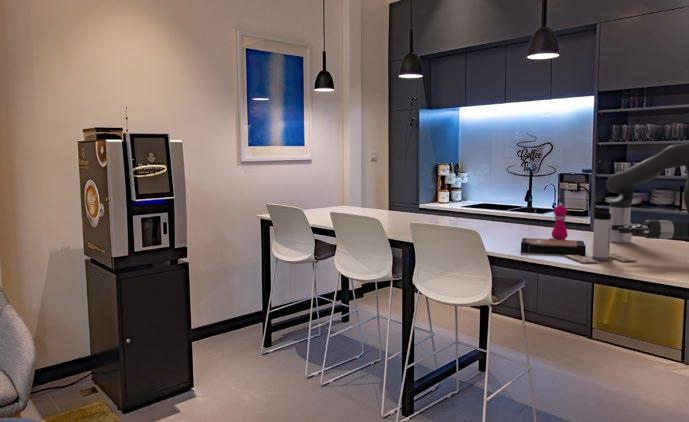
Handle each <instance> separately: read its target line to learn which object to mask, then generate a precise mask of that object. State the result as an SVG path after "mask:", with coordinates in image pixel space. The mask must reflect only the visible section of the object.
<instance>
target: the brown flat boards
mask: <svg viewBox="0 0 689 422" xmlns="http://www.w3.org/2000/svg"><path fill="white" fill-rule="evenodd" d="M564 257H565V258H566V257H567V258H566V259H569V260H571V259H572V260H571V261H574V260H575V261H574V262H577V263H579V262H580V264H582V265H584V264H585V265H588V264H589V265H591V264H592V265H593V264H598V262H600V263H602V262H603V263H606V262H607V263H611V262H613V261H618V262H620V263H637V262H638V260H637V259H635V258H631V257H628V256H624V255H621V254H618V253H609V259H608V260H597V259H593V258H592V256H588V257H586V256H585V257H584V256H580V255H564Z"/></svg>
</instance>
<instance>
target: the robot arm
mask: <svg viewBox="0 0 689 422" xmlns="http://www.w3.org/2000/svg"><path fill="white" fill-rule="evenodd" d="M680 167H685V170H686V181H685V186H684V189H683V196H682V198H683V203H684V207H685V210H686V214H687V215H688V216H689V142H685V143H684V142H683V143H679V144H672V145H669V146H667V147H666V148H663V149H662V151H660V152H659V153H657V154H655V155H654V156H651V157H649V158H647V159H644V160H643V161H641V162H638V163H636V164H635V165H632V166H630V167H628V168H627V169H625V170H623V171H621V172H617V173H615V174H611V175H610V176H608V178H607V180H606V183H605V186H606V190H607V191H609V192H610V193H613V194H619V196H618V197H616V198H615V199H611V200H610V201H609V212H608V213H609V214H610V213H611V232H610V243H611V242H612V243H620V244H623V243H626V244H628V243H630V242H632V235H633V236H639V235H640V236H641V235H642V236H643V237H644V238H645V239H651V240H652V239H653V240H654V239H655V240H658V239H659V240H661V239H688V240H689V221H688V222H686V221H682V220H666V219H665V220H664V219H660V220H659V219H658V220H657V219H654V220H653V219H648V220H647V219H646V220H644V221H643V224H640V223H632V222H631V211H632V210H631V209H632V203H633V199H634V191H635V185H639V184H643V183H648V182H650V181H652V180H654V179H656V178H658V177H659V176H660V175H661V173H662V172H663V171H665V170H668V169H672V168H680Z"/></svg>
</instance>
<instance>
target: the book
mask: <svg viewBox="0 0 689 422" xmlns="http://www.w3.org/2000/svg"><path fill="white" fill-rule="evenodd" d="M586 246H587V245H586V244H585V241H584V240H571V239H565V240H557V239H554V238H553V237H550V238H532V237H531V238H528V237H522V238H521V242H520V253H521V254H540V255H556V256H565V255H580V256H583V257H584V256H585V257H586Z"/></svg>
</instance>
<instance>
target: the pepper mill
mask: <svg viewBox="0 0 689 422" xmlns="http://www.w3.org/2000/svg"><path fill="white" fill-rule="evenodd" d="M553 213H554V220H555V224H554V227H553V229H552V231H551V238H554V239H557V240H566V239H567V237H568V231H567V228H566V226H565V221H566V218H567V216H566V215H567V213H568V209H567V208H566V207H565V206H564V205H563V202H559V203H558V205H557V206H555V207H554V209H553Z"/></svg>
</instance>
